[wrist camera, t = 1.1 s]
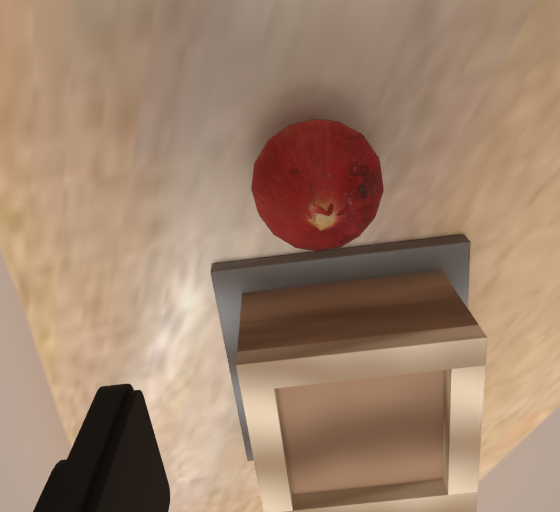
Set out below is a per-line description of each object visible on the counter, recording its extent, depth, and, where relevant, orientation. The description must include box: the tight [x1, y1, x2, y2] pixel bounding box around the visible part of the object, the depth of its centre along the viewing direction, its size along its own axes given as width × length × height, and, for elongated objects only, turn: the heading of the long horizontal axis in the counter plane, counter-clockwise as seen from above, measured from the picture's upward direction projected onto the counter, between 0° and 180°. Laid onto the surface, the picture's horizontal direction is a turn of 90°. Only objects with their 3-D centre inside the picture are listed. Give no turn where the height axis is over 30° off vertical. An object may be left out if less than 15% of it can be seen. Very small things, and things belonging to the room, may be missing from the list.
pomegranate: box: [251, 119, 384, 251], centre depth 23 cm, size 6×6×8 cm
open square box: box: [211, 235, 487, 512], centre depth 29 cm, size 14×14×8 cm
